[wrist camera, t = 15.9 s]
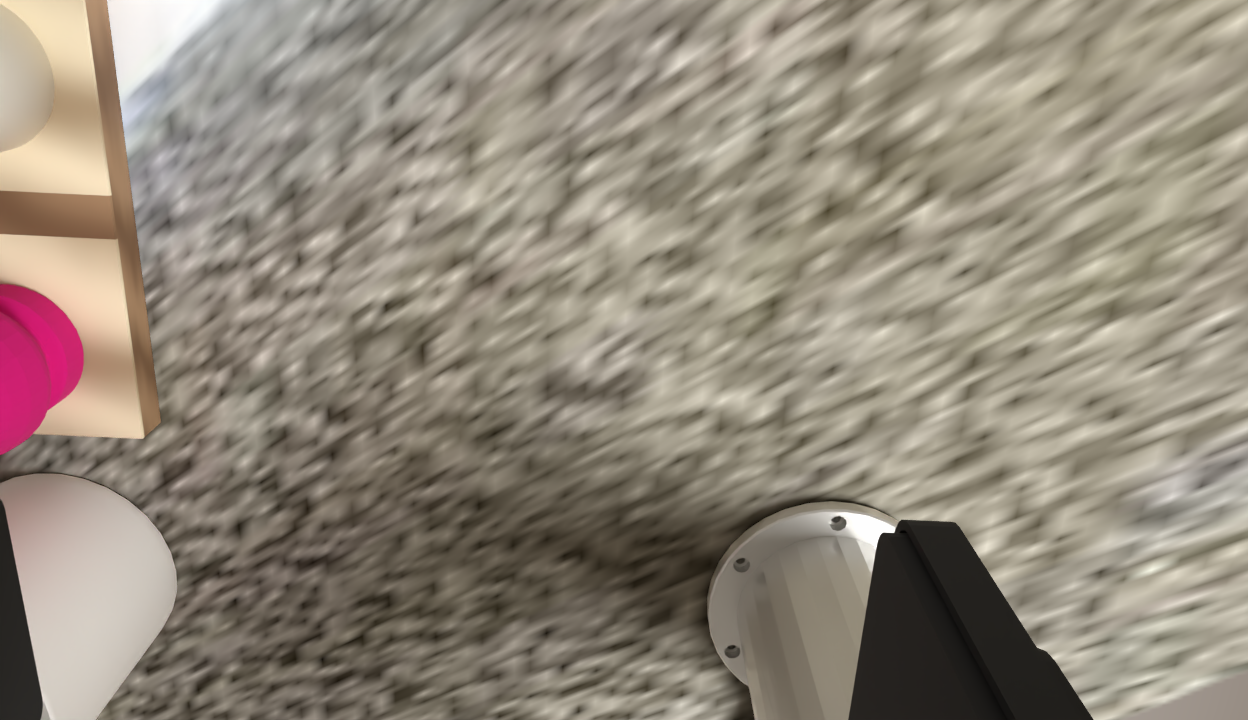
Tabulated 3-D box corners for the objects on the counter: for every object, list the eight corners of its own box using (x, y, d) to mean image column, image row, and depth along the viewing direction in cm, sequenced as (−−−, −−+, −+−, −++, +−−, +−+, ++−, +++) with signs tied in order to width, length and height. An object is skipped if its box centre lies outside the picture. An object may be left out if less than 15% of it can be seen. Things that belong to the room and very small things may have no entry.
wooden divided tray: (161, 422, 49) (142, 438, 47) (-37, 413, 49) (-64, 429, 47) (100, -44, 42) (76, -46, 40) (-134, -57, 41) (-170, -59, 39)
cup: (-88, 530, 51) (-287, 678, 40) (83, 435, 50) (-75, 562, 38) (57, 687, 55) (-88, 863, 44) (221, 604, 53) (114, 766, 42)
